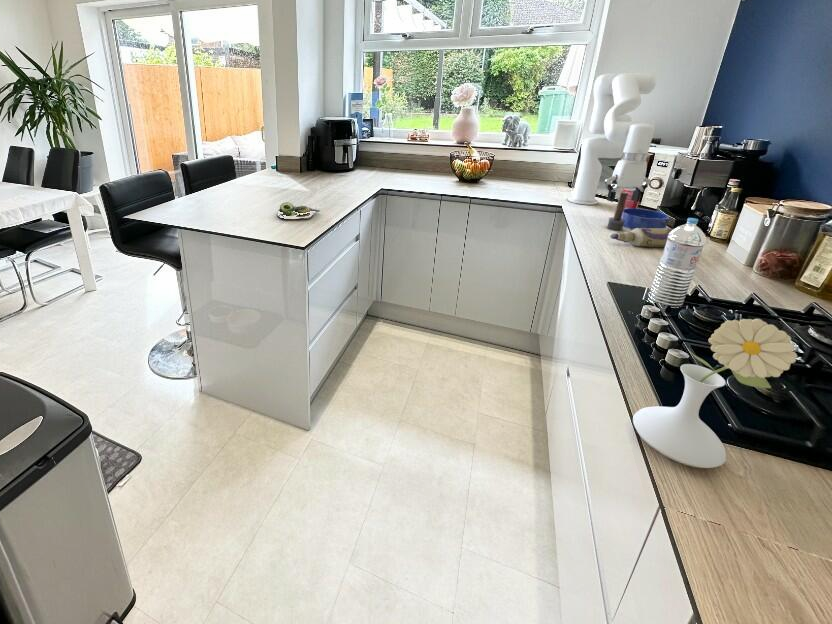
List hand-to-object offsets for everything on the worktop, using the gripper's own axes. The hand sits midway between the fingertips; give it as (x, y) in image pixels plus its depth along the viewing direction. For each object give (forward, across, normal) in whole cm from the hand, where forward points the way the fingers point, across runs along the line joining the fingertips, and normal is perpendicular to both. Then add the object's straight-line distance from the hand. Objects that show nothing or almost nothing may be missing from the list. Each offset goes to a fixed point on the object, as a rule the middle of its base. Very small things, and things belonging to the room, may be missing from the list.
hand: (622, 200), depth 157 cm
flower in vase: (+14, +62, +105) cm, 123 cm away
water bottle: (+13, +32, +64) cm, 72 cm away
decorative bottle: (+12, 0, +18) cm, 21 cm away
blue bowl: (+12, -13, -4) cm, 18 cm away
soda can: (+12, -17, -18) cm, 28 cm away
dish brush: (+12, 0, 0) cm, 12 cm away
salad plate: (+12, +132, -22) cm, 134 cm away
